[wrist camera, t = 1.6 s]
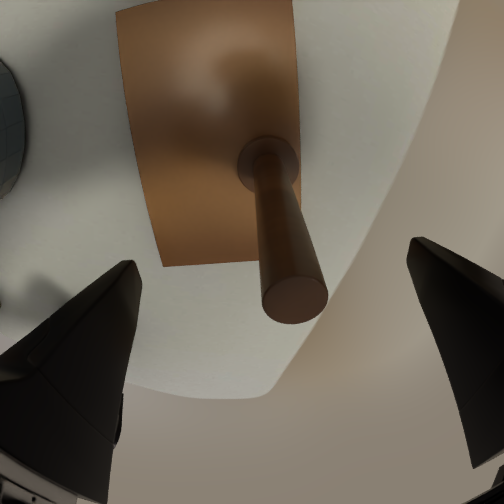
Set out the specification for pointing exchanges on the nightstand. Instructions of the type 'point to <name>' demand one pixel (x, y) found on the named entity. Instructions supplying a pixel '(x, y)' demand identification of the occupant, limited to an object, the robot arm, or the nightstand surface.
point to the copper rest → (206, 116)
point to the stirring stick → (282, 233)
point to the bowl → (10, 131)
